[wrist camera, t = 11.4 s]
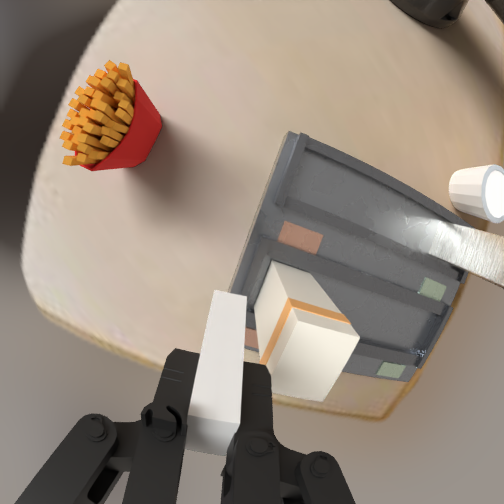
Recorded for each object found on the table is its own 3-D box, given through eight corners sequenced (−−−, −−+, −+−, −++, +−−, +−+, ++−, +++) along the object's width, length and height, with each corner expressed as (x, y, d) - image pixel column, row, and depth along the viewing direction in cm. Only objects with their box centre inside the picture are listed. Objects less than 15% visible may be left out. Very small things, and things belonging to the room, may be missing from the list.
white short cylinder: (474, 163, 29) (509, 163, 22) (479, 212, 30) (513, 219, 24) (442, 166, 29) (478, 165, 22) (447, 219, 31) (483, 227, 24)
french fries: (138, 178, 28) (81, 174, 16) (109, 164, 28) (44, 156, 16) (174, 106, 27) (136, 63, 15) (144, 95, 26) (96, 52, 14)
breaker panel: (284, 136, 28) (330, 84, 12) (464, 228, 31) (554, 254, 15) (215, 326, 32) (199, 429, 16) (399, 370, 35) (454, 442, 19)
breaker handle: (271, 259, 27) (297, 319, 15) (310, 272, 28) (361, 336, 15) (253, 306, 28) (262, 391, 16) (291, 318, 29) (323, 402, 16)
